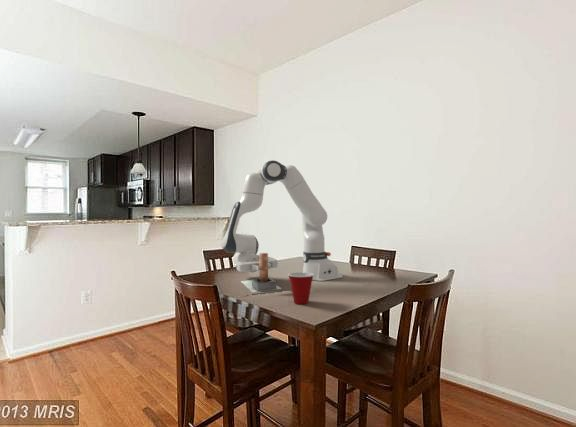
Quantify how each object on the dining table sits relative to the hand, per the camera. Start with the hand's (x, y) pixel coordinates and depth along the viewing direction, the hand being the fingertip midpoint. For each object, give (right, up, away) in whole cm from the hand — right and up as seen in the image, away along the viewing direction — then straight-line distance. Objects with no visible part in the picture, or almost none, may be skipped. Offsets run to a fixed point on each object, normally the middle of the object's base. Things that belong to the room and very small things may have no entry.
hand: (264, 267), depth 151 cm
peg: (0, -8, +1) cm, 8 cm away
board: (-3, -11, +7) cm, 13 cm away
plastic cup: (+16, -12, -17) cm, 26 cm away
